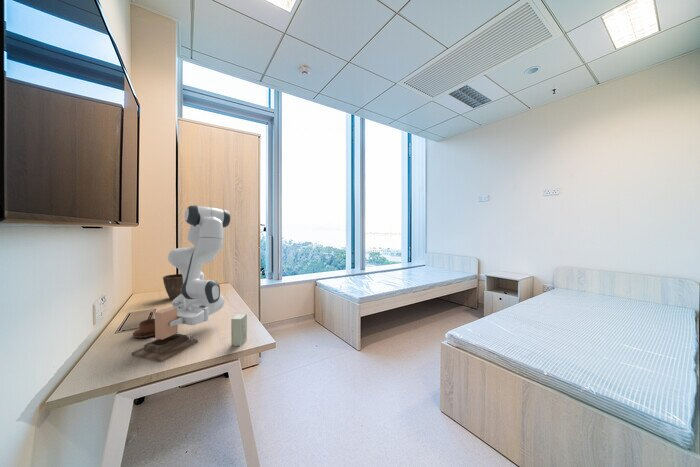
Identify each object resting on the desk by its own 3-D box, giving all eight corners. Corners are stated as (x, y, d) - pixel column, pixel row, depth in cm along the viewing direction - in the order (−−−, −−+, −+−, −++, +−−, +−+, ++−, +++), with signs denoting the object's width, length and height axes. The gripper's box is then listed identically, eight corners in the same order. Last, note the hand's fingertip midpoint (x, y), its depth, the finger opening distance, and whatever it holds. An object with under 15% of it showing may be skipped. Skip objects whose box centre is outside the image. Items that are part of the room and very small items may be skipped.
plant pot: (163, 297, 173) (163, 275, 173) (188, 293, 182) (188, 272, 182) (162, 302, 161) (162, 279, 161) (189, 298, 170) (189, 276, 170)
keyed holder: (131, 355, 98) (131, 346, 97) (170, 337, 113) (170, 329, 113) (161, 361, 93) (161, 352, 93) (197, 342, 109) (197, 334, 109)
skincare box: (238, 339, 112) (237, 313, 111) (247, 339, 112) (247, 313, 111) (230, 346, 106) (230, 318, 105) (240, 346, 105) (240, 318, 105)
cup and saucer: (139, 331, 120) (139, 318, 120) (168, 327, 124) (168, 315, 124) (127, 342, 109) (127, 328, 108) (160, 337, 113) (160, 324, 113)
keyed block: (155, 338, 100) (154, 312, 100) (170, 331, 106) (170, 307, 106) (162, 339, 99) (161, 313, 99) (177, 332, 105) (177, 307, 105)
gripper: (176, 303, 118) (146, 313, 104) (210, 307, 112) (182, 318, 99) (176, 316, 118) (146, 328, 105) (210, 320, 112) (183, 333, 99)
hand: (164, 323), depth 102 cm, fingers closed on keyed block, 4 cm apart
